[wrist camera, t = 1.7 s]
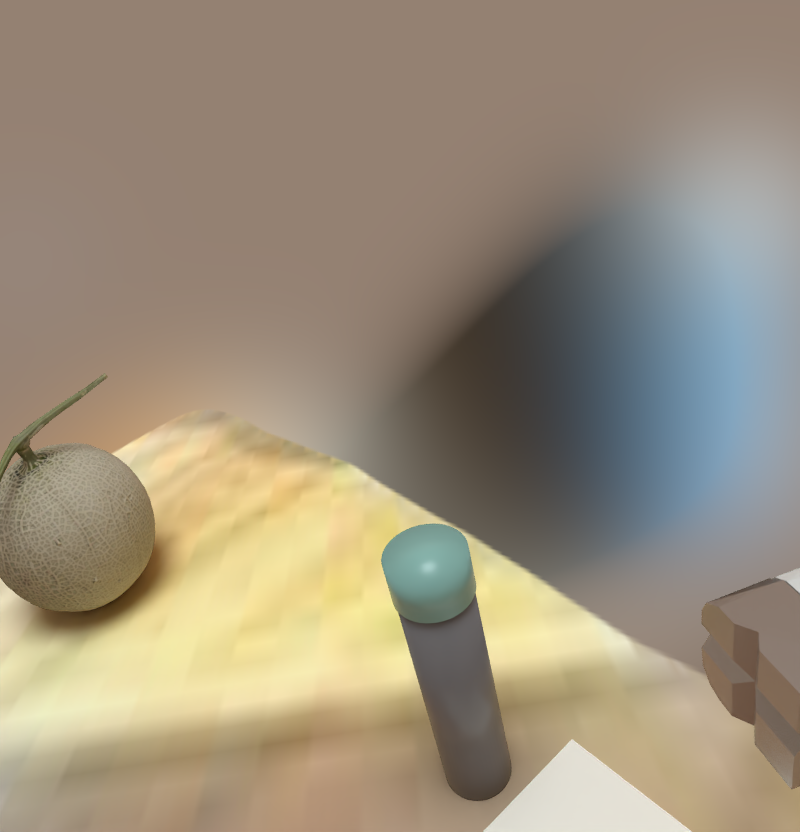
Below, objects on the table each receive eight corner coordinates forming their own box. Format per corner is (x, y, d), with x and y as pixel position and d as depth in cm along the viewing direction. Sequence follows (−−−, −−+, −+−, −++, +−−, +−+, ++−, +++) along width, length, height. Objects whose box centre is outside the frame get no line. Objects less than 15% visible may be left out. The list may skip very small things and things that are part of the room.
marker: (429, 769, 35) (364, 558, 28) (478, 723, 37) (428, 512, 30) (478, 817, 33) (420, 600, 26) (528, 766, 34) (486, 547, 27)
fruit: (-6, 655, 49) (-134, 479, 41) (85, 539, 58) (-5, 379, 51) (128, 656, 46) (18, 468, 38) (200, 534, 55) (123, 365, 48)
